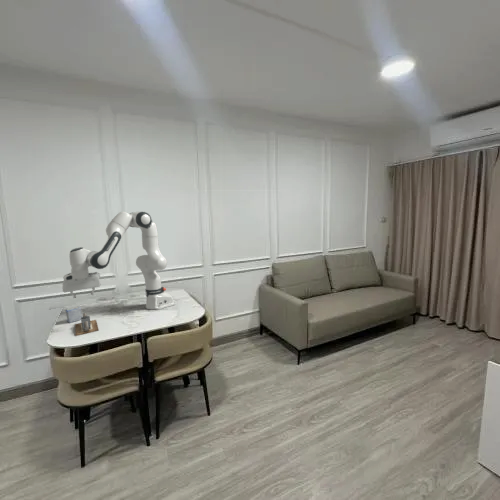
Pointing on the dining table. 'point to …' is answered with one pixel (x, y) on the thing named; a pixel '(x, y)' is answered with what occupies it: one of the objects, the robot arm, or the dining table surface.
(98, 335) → the dining table surface
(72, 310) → the medicine box
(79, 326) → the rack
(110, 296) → the dining table surface
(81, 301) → the dining table surface
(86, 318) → the grey round-headed bar
